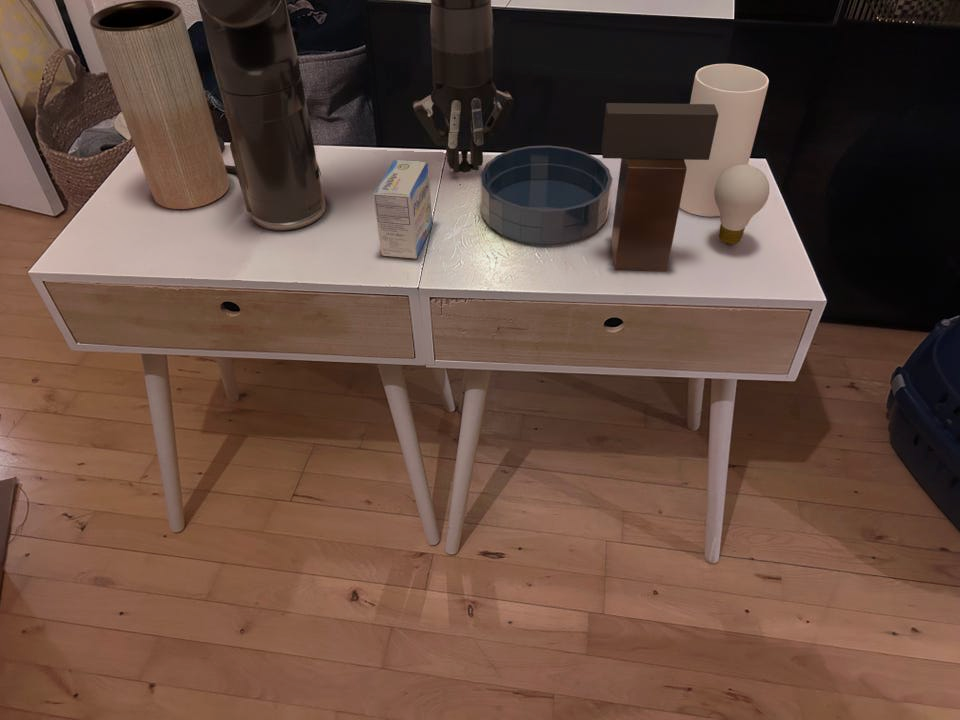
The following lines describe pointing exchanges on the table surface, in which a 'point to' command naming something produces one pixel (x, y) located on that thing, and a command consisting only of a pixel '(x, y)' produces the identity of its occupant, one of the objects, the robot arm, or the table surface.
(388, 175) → the medicine box
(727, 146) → the cup
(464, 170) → the chess pawn
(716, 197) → the light bulb
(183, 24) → the planter
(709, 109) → the dark brown flat block
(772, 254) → the table surface
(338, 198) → the table surface
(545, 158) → the bowl
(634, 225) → the stand
